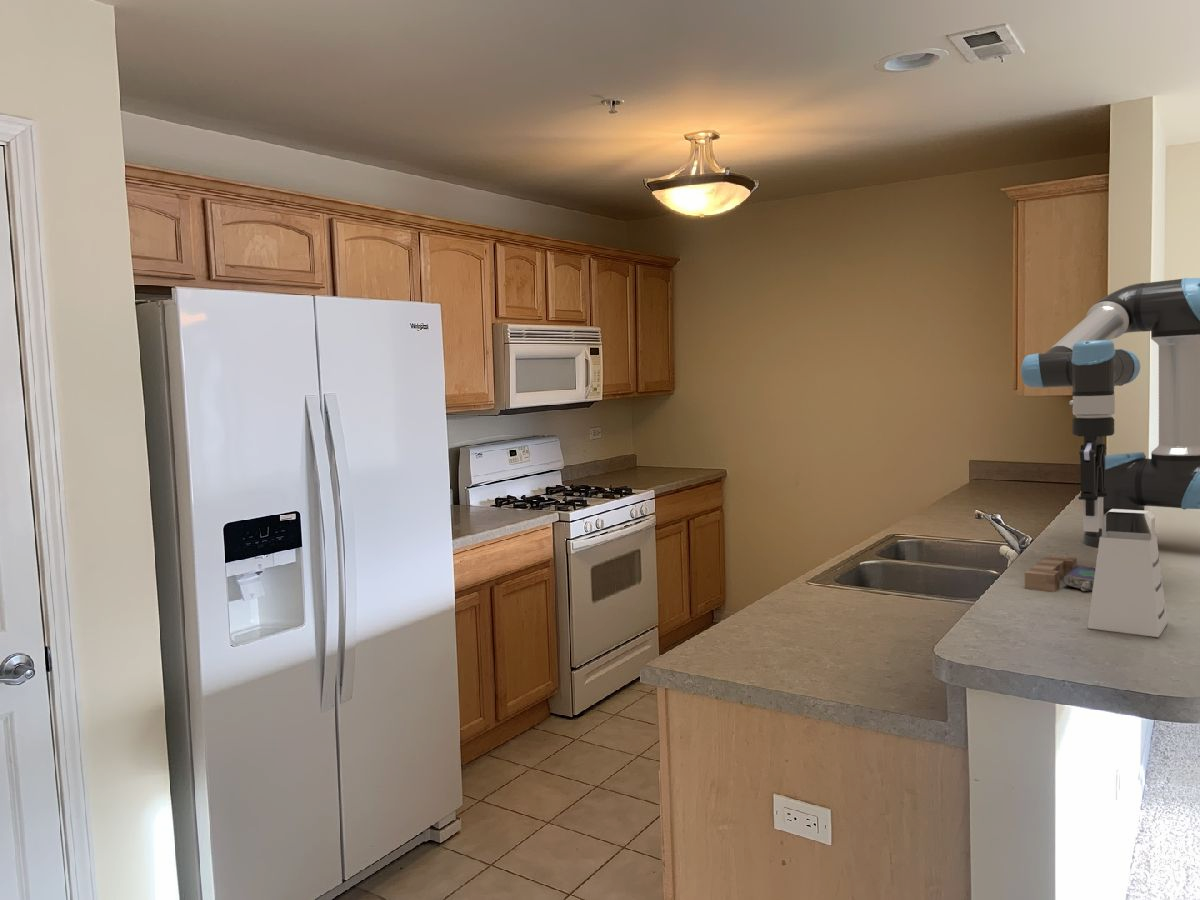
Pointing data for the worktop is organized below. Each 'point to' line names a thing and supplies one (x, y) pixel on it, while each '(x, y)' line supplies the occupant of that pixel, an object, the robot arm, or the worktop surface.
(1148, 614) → the grater
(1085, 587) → the flask
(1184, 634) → the worktop surface
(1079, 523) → the worktop surface
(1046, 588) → the holder
